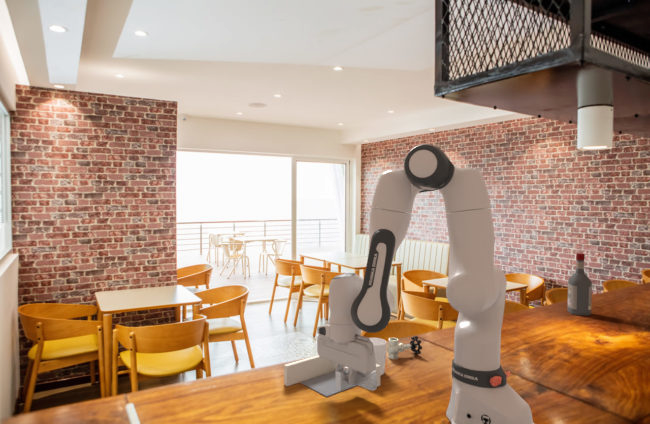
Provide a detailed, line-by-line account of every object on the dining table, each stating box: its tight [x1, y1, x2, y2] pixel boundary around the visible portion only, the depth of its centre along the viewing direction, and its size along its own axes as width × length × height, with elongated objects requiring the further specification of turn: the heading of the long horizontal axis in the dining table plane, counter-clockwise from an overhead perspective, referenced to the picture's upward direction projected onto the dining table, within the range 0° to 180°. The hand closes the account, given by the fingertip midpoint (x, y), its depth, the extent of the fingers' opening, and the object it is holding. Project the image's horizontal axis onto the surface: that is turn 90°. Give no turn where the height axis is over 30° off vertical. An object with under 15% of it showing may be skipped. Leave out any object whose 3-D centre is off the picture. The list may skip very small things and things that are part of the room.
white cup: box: [368, 337, 388, 376], centre depth 140 cm, size 8×8×10 cm
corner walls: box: [283, 355, 382, 387], centre depth 130 cm, size 18×22×6 cm
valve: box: [386, 335, 423, 360], centre depth 155 cm, size 7×7×12 cm
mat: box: [300, 370, 359, 398], centre depth 131 cm, size 12×15×1 cm
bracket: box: [335, 367, 377, 392], centre depth 120 cm, size 8×8×5 cm
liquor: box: [566, 252, 593, 317], centre depth 218 cm, size 9×9×30 cm
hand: (345, 380), depth 122 cm, fingers closed on bracket
